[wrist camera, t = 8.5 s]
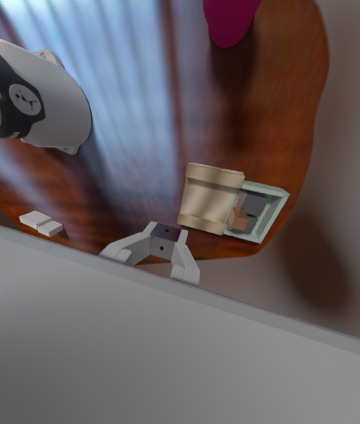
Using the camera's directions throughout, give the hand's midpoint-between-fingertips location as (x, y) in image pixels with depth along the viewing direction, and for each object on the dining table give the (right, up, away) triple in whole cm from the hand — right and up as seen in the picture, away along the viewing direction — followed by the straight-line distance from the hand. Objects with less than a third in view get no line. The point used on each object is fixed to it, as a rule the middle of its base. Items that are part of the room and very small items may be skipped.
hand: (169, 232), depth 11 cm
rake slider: (+13, +3, +20) cm, 24 cm away
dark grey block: (+16, +4, +19) cm, 25 cm away
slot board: (+7, +5, +22) cm, 24 cm away
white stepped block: (-49, -2, +41) cm, 64 cm away
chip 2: (+16, 0, +21) cm, 26 cm away
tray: (+17, +3, +21) cm, 27 cm away
